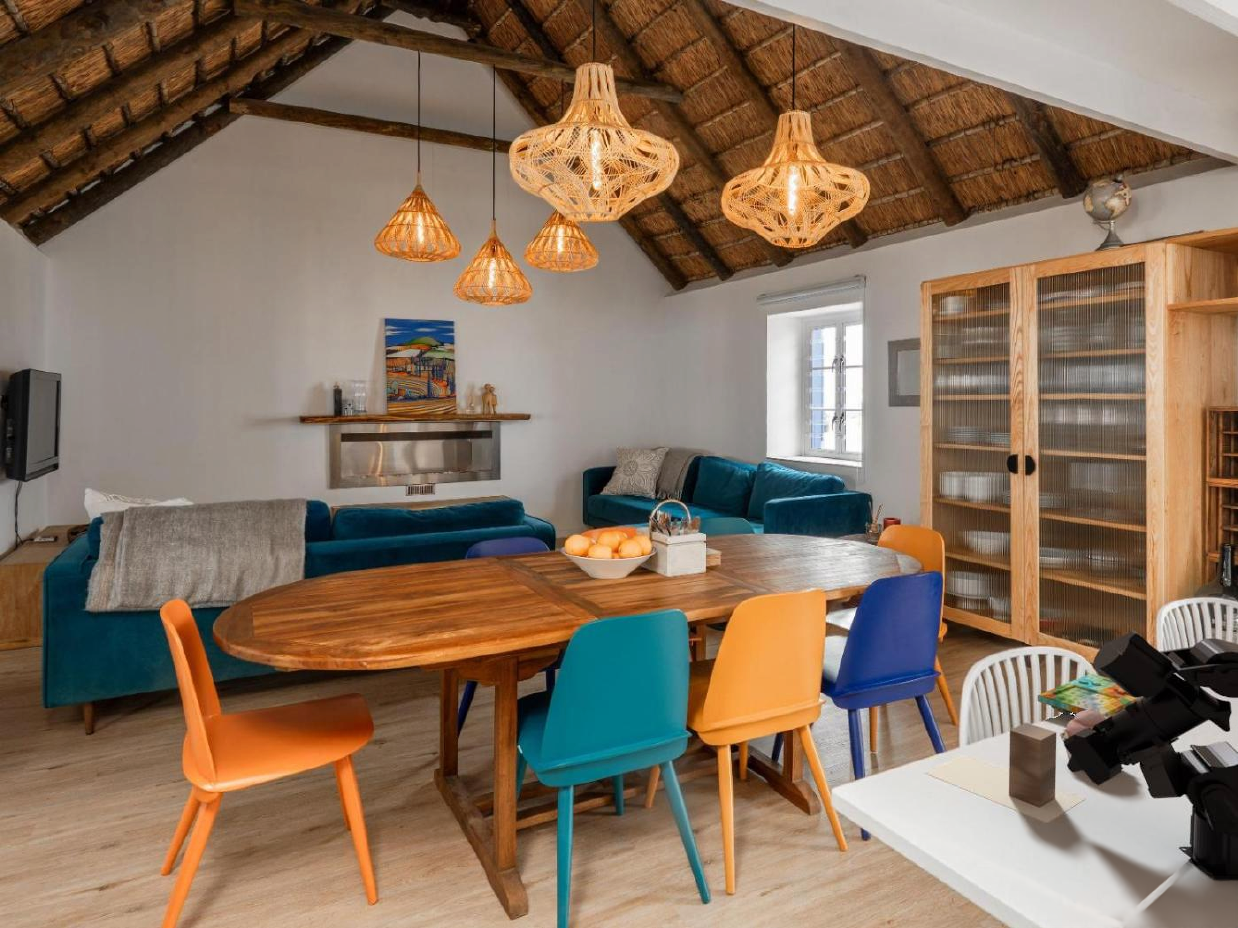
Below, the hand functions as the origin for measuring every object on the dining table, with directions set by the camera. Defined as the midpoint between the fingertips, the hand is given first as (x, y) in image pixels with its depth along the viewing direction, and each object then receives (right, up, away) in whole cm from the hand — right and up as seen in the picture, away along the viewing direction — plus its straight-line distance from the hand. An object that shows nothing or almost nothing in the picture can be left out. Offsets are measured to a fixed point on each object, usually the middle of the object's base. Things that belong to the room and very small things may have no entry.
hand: (1070, 768), depth 112 cm
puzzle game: (+27, -4, +38) cm, 47 cm away
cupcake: (+12, -6, +15) cm, 21 cm away
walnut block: (-3, -6, +5) cm, 9 cm away
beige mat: (-5, -7, +9) cm, 12 cm away
